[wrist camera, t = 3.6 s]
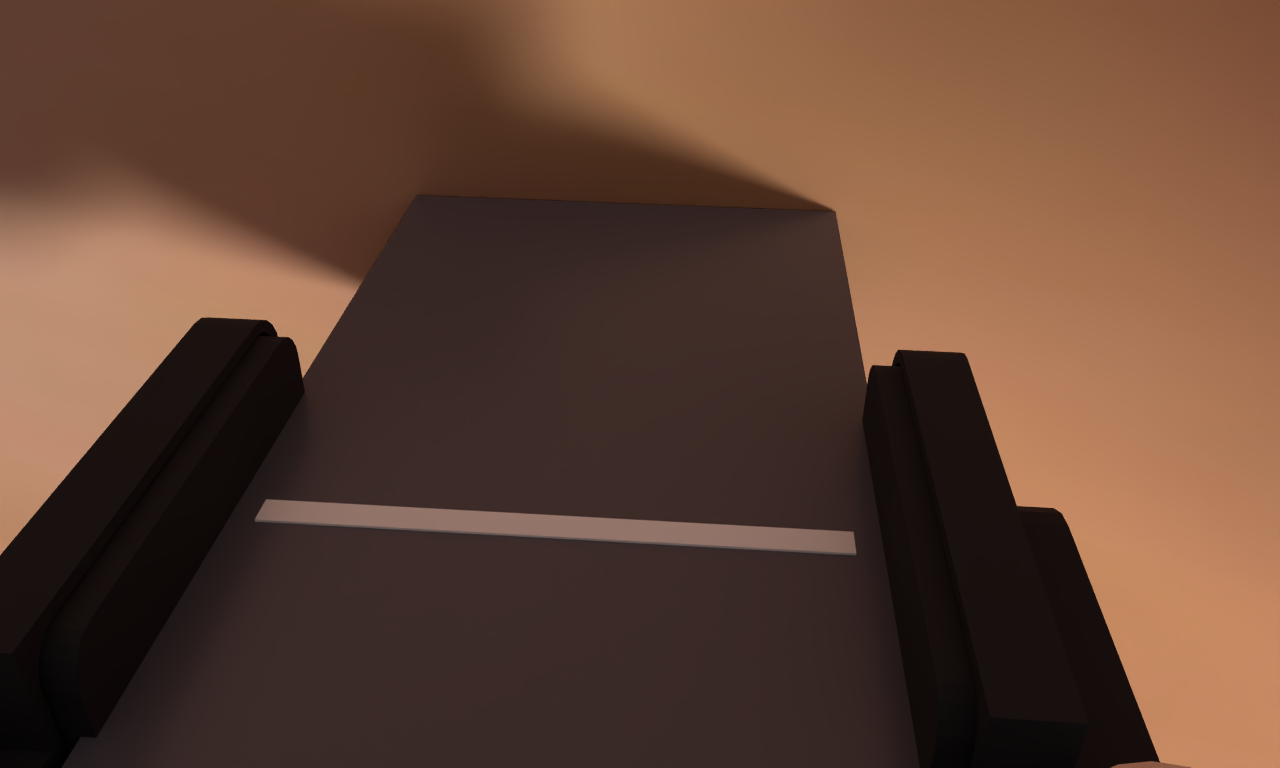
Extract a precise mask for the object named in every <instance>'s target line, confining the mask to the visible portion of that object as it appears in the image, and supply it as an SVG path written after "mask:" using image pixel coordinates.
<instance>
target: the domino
mask: <svg viewBox="0 0 1280 768" xmlns="http://www.w3.org/2000/svg"><path fill="white" fill-rule="evenodd" d="M303 385H304V390H305V393H304V395H303V396H302V398H301V400H300V401H299V403H298V405H297V406H296V408H295V410H294V411H293V413H292V415H291V416H290V418H289V420H288V421H287V423H286V425H285V426H284V428H283V430H282V431H281V433H280V435H279V436H278V438H277V440H276V441H275V443H274V444H273V446H272V448H271V449H270V451H269V453H268V454H267V456H266V458H265V459H264V461H263V463H262V464H261V466H260V468H259V469H258V471H257V473H256V474H255V476H254V478H253V479H252V481H251V483H250V484H249V486H248V488H247V489H246V491H245V492H244V494H243V496H242V497H241V499H240V501H239V502H238V504H237V506H236V507H235V509H234V511H233V512H232V514H231V516H230V517H229V519H228V521H227V522H226V524H225V526H224V527H223V529H222V531H221V532H220V534H219V536H218V537H217V539H216V540H215V542H214V544H213V545H212V547H211V549H210V550H209V552H208V554H207V555H206V557H205V559H204V560H203V562H202V564H201V565H200V567H199V569H198V570H197V572H196V574H195V575H194V577H193V579H192V580H191V582H190V584H189V585H188V587H187V588H186V590H185V592H184V593H183V595H182V597H181V598H180V600H179V602H178V603H177V605H176V607H175V608H174V610H173V612H172V613H171V615H170V617H169V618H168V620H167V622H166V623H165V625H164V627H163V628H162V630H161V631H160V633H159V635H158V636H157V638H156V640H155V641H154V643H153V645H152V646H151V648H150V650H149V651H148V653H147V655H146V656H145V658H144V660H143V661H142V663H141V665H140V666H139V668H138V670H137V671H136V673H135V675H134V676H133V678H132V679H131V681H130V683H129V684H128V686H127V688H126V689H125V691H124V693H123V694H122V696H121V698H120V699H119V701H118V703H117V704H116V706H115V708H114V709H113V711H112V713H111V714H110V716H109V718H108V719H107V721H106V723H105V724H104V726H103V727H102V729H101V731H100V732H99V734H98V736H97V737H96V738H91V737H80V739H79V740H78V742H77V743H76V745H75V747H74V748H73V750H72V751H71V753H70V755H69V756H68V758H67V760H66V761H65V763H64V764H63V766H62V768H920V764H919V758H918V752H917V746H916V740H915V734H914V728H913V722H912V716H911V710H910V704H909V698H908V692H907V686H906V680H905V674H904V668H903V662H902V656H901V650H900V644H899V638H898V632H897V626H896V620H895V614H894V608H893V602H892V596H891V590H890V584H889V578H888V572H887V566H886V560H885V554H884V548H883V542H882V536H881V530H880V524H879V518H878V512H877V506H876V500H875V494H874V488H873V482H872V476H871V470H870V464H869V458H868V452H867V446H866V440H865V434H864V428H863V422H862V418H863V411H864V404H865V397H866V390H867V382H866V377H865V372H864V366H863V361H862V355H861V350H860V344H859V339H858V333H857V328H856V322H855V317H854V311H853V306H852V300H851V295H850V289H849V284H848V278H847V273H846V267H845V262H844V256H843V251H842V245H841V240H840V234H839V229H838V223H837V218H836V212H835V211H810V210H784V209H759V208H733V207H707V206H682V205H656V204H630V203H605V202H579V201H553V200H528V199H502V198H477V197H451V196H425V195H416V197H415V198H414V200H413V202H412V203H411V205H410V206H409V208H408V210H407V211H406V213H405V214H404V216H403V218H402V219H401V221H400V223H399V224H398V226H397V227H396V229H395V231H394V232H393V234H392V235H391V237H390V239H389V240H388V242H387V244H386V245H385V247H384V248H383V250H382V252H381V253H380V255H379V256H378V258H377V260H376V261H375V263H374V264H373V266H372V268H371V269H370V271H369V273H368V274H367V276H366V277H365V279H364V281H363V282H362V284H361V285H360V287H359V289H358V290H357V292H356V294H355V295H354V297H353V298H352V300H351V302H350V303H349V305H348V306H347V308H346V310H345V311H344V313H343V314H342V316H341V318H340V319H339V321H338V323H337V324H336V326H335V327H334V329H333V331H332V332H331V334H330V335H329V337H328V339H327V340H326V342H325V343H324V345H323V347H322V348H321V350H320V352H319V353H318V355H317V356H316V358H315V360H314V361H313V363H312V364H311V366H310V368H309V369H308V371H307V373H306V374H305V376H304V377H303Z"/></svg>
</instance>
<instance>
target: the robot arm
mask: <svg viewBox="0 0 1280 768" xmlns="http://www.w3.org/2000/svg"><path fill="white" fill-rule="evenodd" d="M304 393H305V390H304V385H303V379H302V373H301V368H300V362H299V357H298V352H297V349H296V346H295V344H294V342H293V340H292V339H290V338H289V337H278V336H277V332H276V330H275V329H274V327H273V325H272V324H271V323H270V322H268V321H267V320H250V319H228V318H201V319H200V320H198V321H197V322H196V323H195V324H194V325H193V326H192V327H191V328H190V330H189V331H188V332H187V333H186V334H185V336H184V337H183V338H182V339H181V340H180V342H179V343H178V344H177V345H176V346H175V347H174V349H173V350H172V351H171V352H170V353H169V355H168V356H167V357H166V358H165V359H164V361H163V362H162V363H161V364H160V365H159V367H158V368H157V369H156V370H155V371H154V373H153V374H152V375H151V376H150V377H149V379H148V380H147V381H146V382H145V383H144V384H143V386H142V387H141V388H140V389H139V390H138V392H137V393H136V394H135V395H134V396H133V398H132V399H131V400H130V401H129V402H128V404H127V405H126V406H125V407H124V408H123V410H122V411H121V412H120V413H119V414H118V416H117V417H116V418H115V419H114V420H113V421H112V423H111V424H110V425H109V426H108V427H107V429H106V430H105V431H104V432H103V433H102V435H101V436H100V437H99V438H98V439H97V441H96V442H95V443H94V444H93V445H92V447H91V448H90V449H89V450H88V451H87V453H86V454H85V455H84V456H83V457H82V458H81V460H80V461H79V462H78V463H77V464H76V466H75V467H74V468H73V469H72V470H71V472H70V473H69V474H68V475H67V476H66V478H65V479H64V480H63V481H62V482H61V484H60V485H59V486H58V487H57V488H56V490H55V491H54V492H53V493H52V494H51V496H50V497H49V498H48V499H47V500H46V501H45V503H44V504H43V505H42V506H41V507H40V509H39V510H38V511H37V512H36V513H35V515H34V516H33V517H32V518H31V519H30V521H29V522H28V523H27V524H26V525H25V527H24V528H23V529H22V530H21V531H20V533H19V534H18V535H17V536H16V537H15V538H14V540H13V541H12V542H11V543H10V544H9V546H8V547H7V548H6V549H5V550H4V552H3V553H2V554H1V555H0V768H62V766H63V764H64V763H65V761H66V760H67V758H68V756H69V755H70V753H71V751H72V750H73V748H74V747H75V745H76V743H77V742H78V740H79V739H80V737H91V738H96V737H97V736H98V734H99V732H100V731H101V729H102V727H103V726H104V724H105V723H106V721H107V719H108V718H109V716H110V714H111V713H112V711H113V709H114V708H115V706H116V704H117V703H118V701H119V699H120V698H121V696H122V694H123V693H124V691H125V689H126V688H127V686H128V684H129V683H130V681H131V679H132V678H133V676H134V675H135V673H136V671H137V670H138V668H139V666H140V665H141V663H142V661H143V660H144V658H145V656H146V655H147V653H148V651H149V650H150V648H151V646H152V645H153V643H154V641H155V640H156V638H157V636H158V635H159V633H160V631H161V630H162V628H163V627H164V625H165V623H166V622H167V620H168V618H169V617H170V615H171V613H172V612H173V610H174V608H175V607H176V605H177V603H178V602H179V600H180V598H181V597H182V595H183V593H184V592H185V590H186V588H187V587H188V585H189V584H190V582H191V580H192V579H193V577H194V575H195V574H196V572H197V570H198V569H199V567H200V565H201V564H202V562H203V560H204V559H205V557H206V555H207V554H208V552H209V550H210V549H211V547H212V545H213V544H214V542H215V540H216V539H217V537H218V536H219V534H220V532H221V531H222V529H223V527H224V526H225V524H226V522H227V521H228V519H229V517H230V516H231V514H232V512H233V511H234V509H235V507H236V506H237V504H238V502H239V501H240V499H241V497H242V496H243V494H244V492H245V491H246V489H247V488H248V486H249V484H250V483H251V481H252V479H253V478H254V476H255V474H256V473H257V471H258V469H259V468H260V466H261V464H262V463H263V461H264V459H265V458H266V456H267V454H268V453H269V451H270V449H271V448H272V446H273V444H274V443H275V441H276V440H277V438H278V436H279V435H280V433H281V431H282V430H283V428H284V426H285V425H286V423H287V421H288V420H289V418H290V416H291V415H292V413H293V411H294V410H295V408H296V406H297V405H298V403H299V401H300V400H301V398H302V396H303V395H304ZM862 422H863V428H864V434H865V440H866V446H867V452H868V458H869V464H870V470H871V476H872V482H873V488H874V494H875V500H876V506H877V512H878V518H879V524H880V530H881V536H882V542H883V548H884V554H885V560H886V566H887V572H888V578H889V584H890V590H891V596H892V602H893V608H894V614H895V620H896V626H897V632H898V638H899V644H900V650H901V656H902V662H903V668H904V674H905V680H906V686H907V692H908V698H909V704H910V710H911V716H912V722H913V728H914V734H915V740H916V746H917V752H918V758H919V764H920V768H1191V767H1185V766H1179V765H1173V764H1166V763H1160V761H1159V758H1158V756H1157V753H1156V751H1155V748H1154V746H1153V743H1152V740H1151V738H1150V735H1149V733H1148V730H1147V728H1146V725H1145V722H1144V720H1143V717H1142V715H1141V712H1140V709H1139V707H1138V704H1137V702H1136V699H1135V697H1134V694H1133V691H1132V689H1131V686H1130V684H1129V681H1128V678H1127V676H1126V673H1125V671H1124V668H1123V666H1122V663H1121V660H1120V658H1119V655H1118V653H1117V650H1116V648H1115V645H1114V642H1113V640H1112V637H1111V635H1110V632H1109V629H1108V627H1107V624H1106V622H1105V619H1104V617H1103V614H1102V611H1101V609H1100V606H1099V604H1098V601H1097V599H1096V596H1095V593H1094V591H1093V588H1092V586H1091V583H1090V580H1089V578H1088V575H1087V573H1086V570H1085V568H1084V565H1083V562H1082V560H1081V557H1080V555H1079V552H1078V550H1077V547H1076V544H1075V542H1074V539H1073V537H1072V534H1071V531H1070V529H1069V526H1068V524H1067V523H1066V521H1065V519H1064V517H1063V515H1062V513H1060V512H1059V511H1057V510H1056V509H1054V508H1041V507H1023V506H1017V505H1016V502H1015V499H1014V496H1013V493H1012V490H1011V487H1010V484H1009V481H1008V478H1007V476H1006V473H1005V470H1004V467H1003V464H1002V461H1001V458H1000V455H999V452H998V449H997V446H996V443H995V440H994V437H993V434H992V431H991V428H990V425H989V422H988V419H987V416H986V413H985V410H984V407H983V404H982V401H981V398H980V395H979V392H978V389H977V386H976V383H975V380H974V377H973V374H972V371H971V368H970V365H969V362H968V359H967V357H966V355H965V354H964V353H955V352H934V351H913V350H898V351H897V352H896V354H895V357H894V360H893V364H892V366H879V365H873V366H872V367H871V369H870V373H869V378H868V383H867V390H866V397H865V404H864V411H863V418H862Z"/></svg>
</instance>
